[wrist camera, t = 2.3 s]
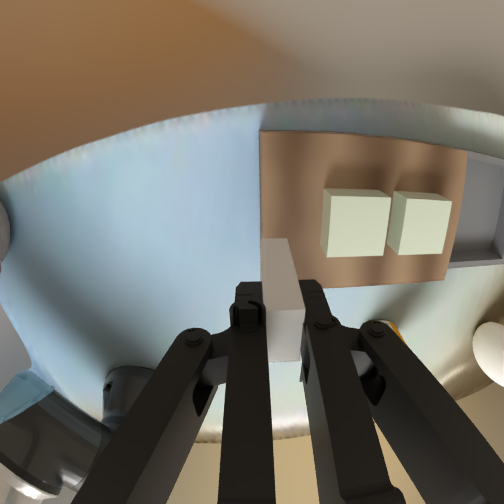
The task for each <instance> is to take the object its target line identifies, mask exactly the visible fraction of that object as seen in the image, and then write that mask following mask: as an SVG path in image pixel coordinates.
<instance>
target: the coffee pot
mask: <svg viewBox="0 0 504 504" xmlns="http://www.w3.org/2000/svg"><path fill="white" fill-rule="evenodd" d="M9 244H10V221H9V217H8V214H7V211H6V209H5V207H4V205H3V204H2V202H1V201H0V263H1V262H2V261H3V260H4V258H5V256H6V254H7V251H8V249H9ZM0 272H1V265H0Z"/></svg>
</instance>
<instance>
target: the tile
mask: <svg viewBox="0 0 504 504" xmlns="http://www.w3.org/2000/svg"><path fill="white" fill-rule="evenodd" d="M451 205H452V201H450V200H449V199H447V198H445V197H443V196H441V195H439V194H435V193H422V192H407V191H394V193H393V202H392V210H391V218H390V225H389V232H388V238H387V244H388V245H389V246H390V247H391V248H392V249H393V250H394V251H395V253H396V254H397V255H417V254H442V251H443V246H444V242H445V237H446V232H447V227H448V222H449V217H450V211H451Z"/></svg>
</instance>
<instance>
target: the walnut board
mask: <svg viewBox="0 0 504 504" xmlns="http://www.w3.org/2000/svg"><path fill="white" fill-rule="evenodd" d="M467 156H468V152H466V151H463V150H459V149H455V148H451V147H447V146H443V145H439V144H434V143H428V142H422V141H416V140H409V139H402V138H394V137H386V136H377V135H367V134H356V133H343V132H327V131H302V130H259V170H260V236H261V239H273V238H287V240H288V244H289V247H290V251H291V255H292V259H293V263H294V266H295V270H296V274H297V278H298V280H306V279H315V280H316V281H317V282H318V283H320V284H321V286H322V288H342V287H359V286H375V285H390V284H403V283H416V282H428V281H439V280H444V278H445V275H446V271H447V268H448V264H449V260H450V256H451V252H452V248H453V244H454V240H455V235H456V230H457V225H458V220H459V215H460V210H461V204H462V197H463V191H464V183H465V175H466V167H467ZM324 188H334V189H368V190H380V191H381V192H383V193H385V194H386V195H388V196H389V197H391V204H390V212H389V220H388V227H387V234H386V240H385V247H384V252H383V256H356V257H326V255H325V253H324V251H323V249H322V247H321V245H320V241H321V227H322V211H323V191H324ZM394 191H407V192H422V193H435V194H439V195H441V196H443V197H445V198H447V199H449V200H450V201H452V205H451V211H450V217H449V222H448V227H447V232H446V237H445V242H444V246H443V251H442V254H417V255H397V254H396V253H395V251H394V250H393V249H392V248H391V247H390V246H389V245H388V244H387V238H388V232H389V225H390V218H391V210H392V202H393V193H394Z"/></svg>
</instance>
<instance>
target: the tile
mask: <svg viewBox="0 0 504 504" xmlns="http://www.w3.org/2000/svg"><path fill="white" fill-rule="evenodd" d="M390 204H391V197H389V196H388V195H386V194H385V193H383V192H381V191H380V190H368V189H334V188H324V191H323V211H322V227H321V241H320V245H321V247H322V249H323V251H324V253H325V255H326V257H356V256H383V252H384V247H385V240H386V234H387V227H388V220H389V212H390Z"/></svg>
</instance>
